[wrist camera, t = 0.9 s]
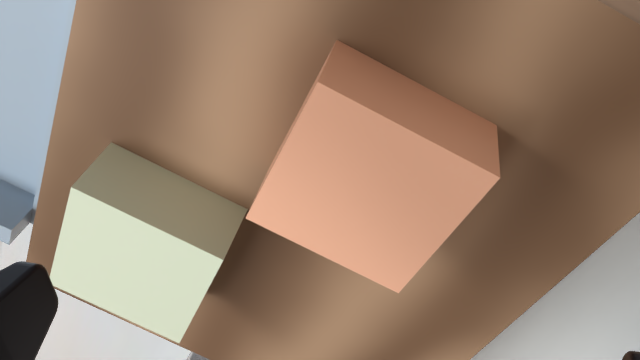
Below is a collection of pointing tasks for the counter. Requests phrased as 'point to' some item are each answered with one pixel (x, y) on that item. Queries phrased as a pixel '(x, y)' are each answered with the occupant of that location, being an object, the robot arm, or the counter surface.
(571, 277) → the counter surface
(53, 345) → the counter surface
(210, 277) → the sage tile
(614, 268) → the counter surface
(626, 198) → the wood-grain brown block
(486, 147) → the terracotta tile
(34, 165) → the box
